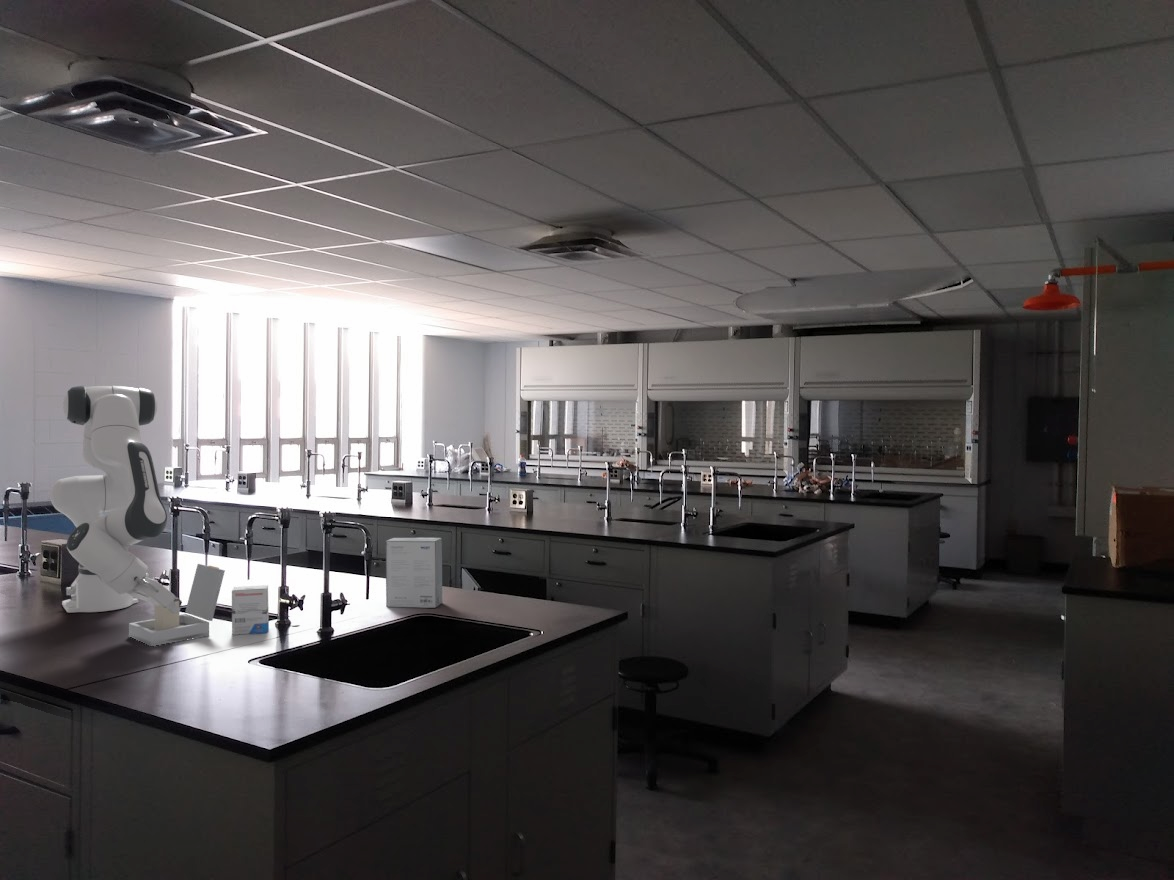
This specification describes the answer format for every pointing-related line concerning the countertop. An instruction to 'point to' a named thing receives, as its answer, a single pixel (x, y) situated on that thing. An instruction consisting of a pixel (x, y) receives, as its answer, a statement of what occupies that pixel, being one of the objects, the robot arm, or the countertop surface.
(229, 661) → the countertop surface
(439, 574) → the hard drive box
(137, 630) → the case
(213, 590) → the case lid
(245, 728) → the countertop surface
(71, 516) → the robot arm
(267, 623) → the ink box
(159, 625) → the block
